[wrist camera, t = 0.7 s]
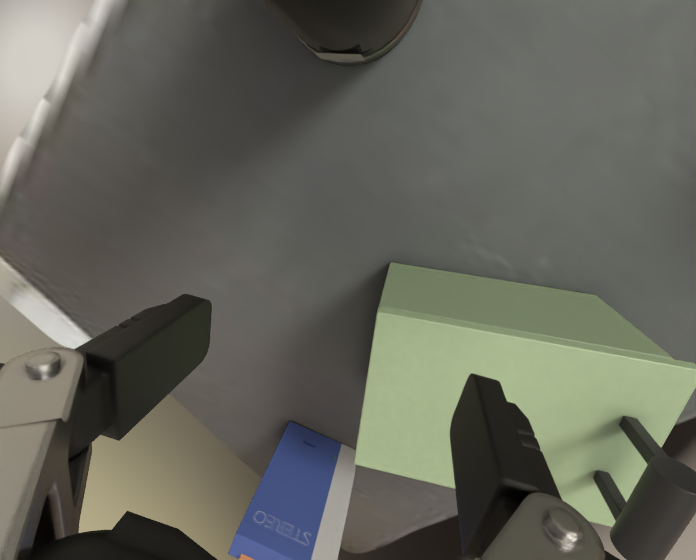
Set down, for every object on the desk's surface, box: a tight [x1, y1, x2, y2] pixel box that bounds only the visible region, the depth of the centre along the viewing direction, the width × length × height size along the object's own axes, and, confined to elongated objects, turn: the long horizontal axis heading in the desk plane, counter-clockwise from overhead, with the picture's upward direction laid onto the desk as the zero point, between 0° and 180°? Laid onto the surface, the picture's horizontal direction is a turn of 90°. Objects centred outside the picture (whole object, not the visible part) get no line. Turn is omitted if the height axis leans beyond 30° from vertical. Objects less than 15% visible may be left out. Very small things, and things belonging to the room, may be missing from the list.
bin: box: [378, 262, 673, 359], centre depth 26 cm, size 16×12×9 cm
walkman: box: [228, 421, 356, 560], centre depth 31 cm, size 8×3×12 cm, turn 70°
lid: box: [354, 307, 696, 560], centre depth 19 cm, size 16×12×6 cm
